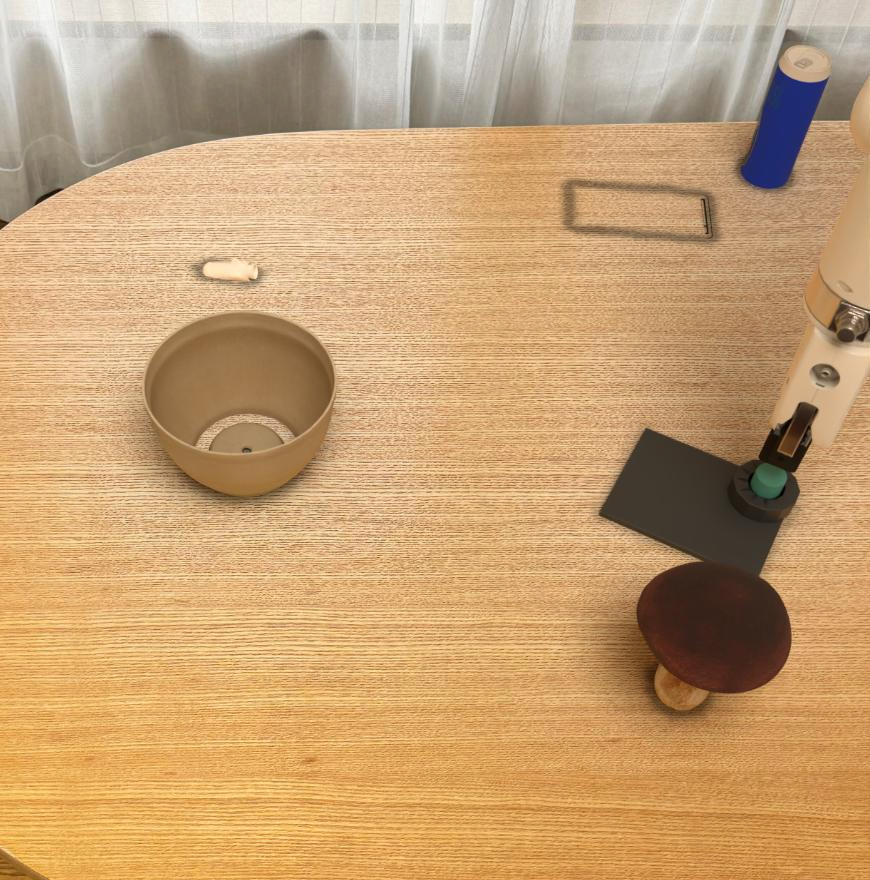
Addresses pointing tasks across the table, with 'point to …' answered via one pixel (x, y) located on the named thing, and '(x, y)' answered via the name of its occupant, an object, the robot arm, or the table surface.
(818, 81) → the beverage can
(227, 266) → the small white plastic part
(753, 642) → the decorative mushroom
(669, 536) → the scale
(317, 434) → the planter bowl
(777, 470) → the button
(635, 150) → the table surface
